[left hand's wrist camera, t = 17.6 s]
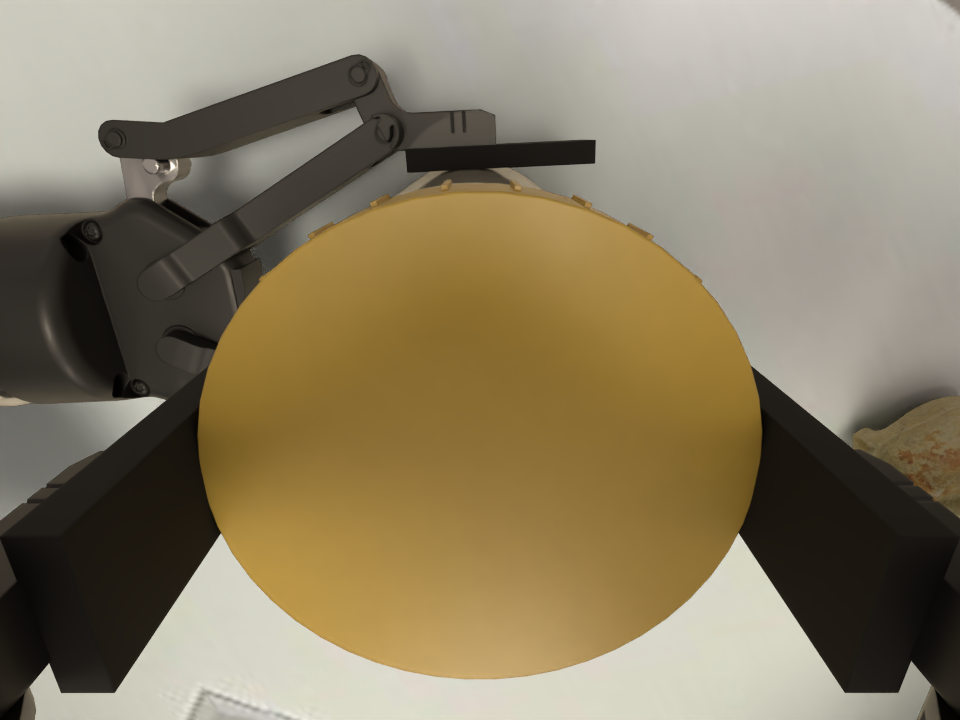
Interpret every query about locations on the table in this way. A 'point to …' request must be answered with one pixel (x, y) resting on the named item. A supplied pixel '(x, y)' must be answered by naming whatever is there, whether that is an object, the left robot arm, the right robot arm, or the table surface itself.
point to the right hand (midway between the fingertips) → (584, 286)
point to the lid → (479, 432)
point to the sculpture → (922, 448)
